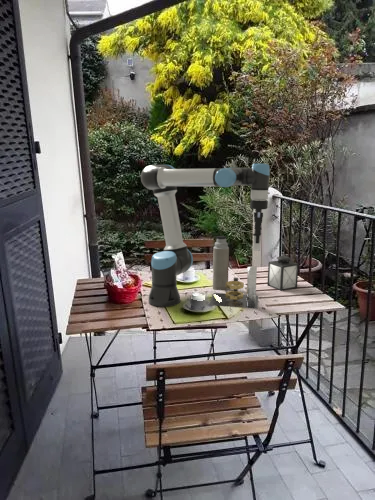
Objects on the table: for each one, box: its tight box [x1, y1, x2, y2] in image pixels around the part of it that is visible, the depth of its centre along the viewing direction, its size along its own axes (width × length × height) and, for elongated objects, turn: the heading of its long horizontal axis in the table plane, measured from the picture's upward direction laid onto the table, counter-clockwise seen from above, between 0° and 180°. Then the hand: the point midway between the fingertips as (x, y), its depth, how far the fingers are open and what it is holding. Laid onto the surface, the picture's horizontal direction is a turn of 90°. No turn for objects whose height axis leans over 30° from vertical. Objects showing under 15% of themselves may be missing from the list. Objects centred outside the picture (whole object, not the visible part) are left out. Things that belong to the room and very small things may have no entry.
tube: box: [246, 265, 258, 307], centre depth 185 cm, size 4×4×18 cm
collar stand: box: [208, 277, 259, 309], centre depth 193 cm, size 22×18×10 cm
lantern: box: [267, 235, 299, 292], centre depth 217 cm, size 11×11×28 cm
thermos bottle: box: [212, 235, 230, 292], centre depth 213 cm, size 8×8×28 cm
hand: (256, 247), depth 184 cm, fingers open, 13 cm apart
